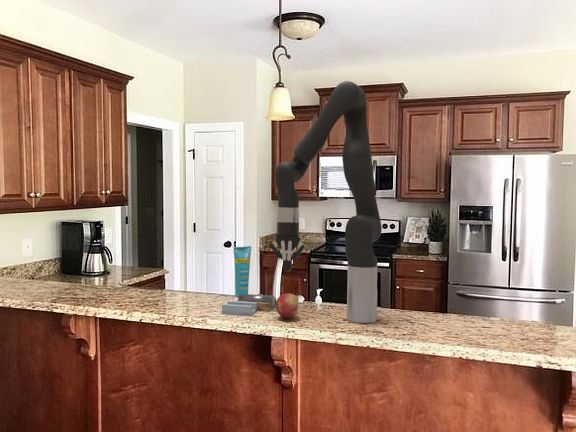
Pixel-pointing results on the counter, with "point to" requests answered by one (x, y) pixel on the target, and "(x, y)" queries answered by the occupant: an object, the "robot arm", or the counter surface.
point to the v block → (239, 308)
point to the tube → (242, 269)
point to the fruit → (287, 305)
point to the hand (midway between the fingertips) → (287, 271)
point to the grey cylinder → (257, 298)
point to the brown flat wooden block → (263, 306)
